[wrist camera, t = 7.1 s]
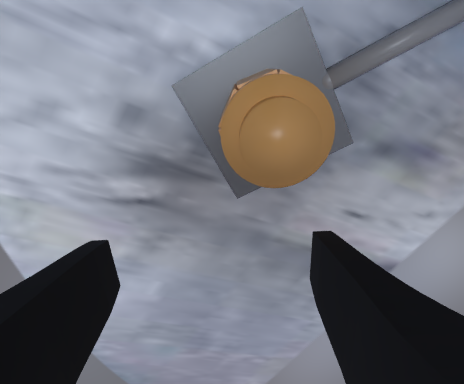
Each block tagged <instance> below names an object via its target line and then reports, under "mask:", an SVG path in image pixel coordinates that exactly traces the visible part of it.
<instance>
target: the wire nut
mask: <svg viewBox="0 0 464 384" xmlns="http://www.w3.org/2000/svg"><path fill="white" fill-rule="evenodd" d="M218 127H219V130H218V131H219V134H220V136H221V145H222V149H223V152H224V155H225V157H226V159H227V161H228V163H229V164H230V166H231V167H232V169H233V170H234V171H235V172H236V173H237V174H238V175H239V176H240V177H242V178H243V179H245V180H246V181H248V182H250V183H252V184H255V185H258V186H261V187H266V188H282V187H288V186H291V185H294V184H297V183H299V182H301V181H303V180H305V179H307V178H308V177H309V176H311V175H312V174H313V173H314V172H316V171H317V170H318V169H319V167H320V166H321V165H322V164H323V163H324V161H325V160H326V158H327V156H328V154H329V152H330V150H331V147H332V145H333V141H334V136H335V120H334V114H333V111H332V108H331V106H330V104H329V102H328V100H327V98H326V97H325V95H324V94H323V93H322V92H321V91H320V90H319V89H318V87H316V86H315V85H313V84H312V83H310V82H309V81H307V80H305V79H303V78H300V77H297V76H293V75H291V74H289V73H287V72H285V71H283V70H281V69H265V70H263V71H261V72H258V73H256V74H253V75H251V76H249V77H246V78H244V79H241V80H239V81H237V85H236V84H234V86H233V89H232V91H231V94H230V96H229V98H228V101H227V103H226V106H225V108H224V110H223V113H222V116H221V119H220V123H219V126H218Z"/></svg>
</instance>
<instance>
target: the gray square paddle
mask: <svg viewBox="0 0 464 384" xmlns="http://www.w3.org/2000/svg"><path fill="white" fill-rule="evenodd" d="M463 21H464V0H453V1H451V2H449V3H447V4H445V5H443V6H442V7H440V8H438V9H436V10H434V11H432V12H431V13H429V14H427V15H425V16H423V17H421V18H420V19H418V20H416V21H414V22H412V23H410V24H409V25H407V26H405V27H403V28H401V29H399V30H398V31H396V32H394V33H392V34H390V35H388V36H387V37H385V38H383V39H381V40H379V41H377V42H375V43H374V44H372V45H370V46H368V47H366V48H364V49H363V50H361V51H359V52H357V53H355V54H353V55H352V56H350V57H348V58H346V59H344V60H342V61H341V62H339V63H337V64H335V65H333V66H331V67H330V68H328V69H326V68H325V65H324V63H323V60H322V57H321V55H320V52H319V49H318V47H317V44H316V41H315V39H314V36H313V33H312V31H311V28H310V25H309V23H308V20H307V17H306V15H305V12H304V9H303V7H301V8H300V9H298V10H296V11H295V12H293V13H291V14H290V15H288V16H286V17H285V18H283V19H281V20H280V21H278V22H276V23H275V24H273V25H271V26H270V27H268V28H266V29H265V30H263V31H261V32H260V33H258V34H257V35H255V36H253V37H252V38H250V39H248V40H247V41H245V42H243V43H242V44H240V45H238V46H237V47H235V48H233V49H232V50H230V51H228V52H227V53H225V54H223V55H222V56H220V57H218V58H217V59H215V60H213V61H212V62H210V63H208V64H207V65H205V66H203V67H202V68H200V69H198V70H197V71H195V72H193V73H192V74H190V75H188V76H187V77H185V78H183V79H182V80H180V81H178V82H177V83H175V84H173V85H172V88H173V89H174V91H175V93H176V95H177V96H178V98H179V100H180V101H181V103H182V105H183V107H184V108H185V110H186V112H187V113H188V115H189V117H190V119H191V120H192V122H193V124H194V125H195V127H196V129H197V131H198V132H199V134H200V136H201V137H202V139H203V141H204V143H205V144H206V146H207V148H208V149H209V151H210V153H211V155H212V156H213V158H214V160H215V161H216V163H217V165H218V167H219V168H220V170H221V172H222V173H223V175H224V177H225V179H226V180H227V182H228V184H229V185H230V187H231V189H232V191H233V192H234V194H235V196H236V197H237V199H238V198H240V197H242V196H244V195H246V194H248V193H250V192H252V191H254V190H256V189H259V188H261V186H258V185H255V184H252V183H250V182H248V181H246V180H245V179H243V178H242V177H240V176H239V175H238V174H237V173H236V172H235V171H234V170H233V169H232V167H231V166H230V164H229V163H228V161H227V159H226V157H225V155H224V152H223V149H222V145H221V136H220V134H219V131H218V130H219V127H218V126H219V123H220V119H221V116H222V113H223V110H224V108H225V106H226V103H227V101H228V98H229V96H230V94H231V91H232V89H233V86H234V84H236V85H237V81H239V80H241V79H244V78H246V77H249V76H251V75H253V74H256V73H258V72H261V71H263V70H265V69H281V70H283V71H285V72H287V73H289V74H291V75H293V76H297V77H300V78H303V79H305V80H307V81H309V82H310V83H312V84H313V85H315V86H316V87H318V89H319V90H320V91H321V92H322V93H323V94H324V95H325V97H326V98H327V100H328V102H329V104H330V106H331V108H332V111H333V114H334V120H335V136H334V141H333V145H332V147H331V150H330V152H329V154H331V153H334V152H336V151H338V150H340V149H342V148H344V147H346V146H348V145H350V144H352V143H353V140H352V137H351V135H350V132H349V129H348V127H347V124H346V121H345V119H344V116H343V113H342V111H341V108H340V105H339V103H338V100H337V97H336V95H335V92H334V89H336V88H338V87H339V86H341V85H343V84H345V83H347V82H349V81H351V80H353V79H355V78H357V77H358V76H360V75H362V74H364V73H366V72H368V71H370V70H372V69H374V68H376V67H377V66H379V65H381V64H383V63H385V62H387V61H389V60H391V59H393V58H395V57H396V56H398V55H400V54H402V53H404V52H406V51H408V50H410V49H412V48H414V47H415V46H417V45H419V44H421V43H423V42H425V41H427V40H429V39H431V38H433V37H434V36H436V35H438V34H440V33H442V32H444V31H446V30H448V29H450V28H452V27H453V26H455V25H457V24H459V23H461V22H463ZM329 154H328V155H329Z"/></svg>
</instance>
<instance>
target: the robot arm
mask: <svg viewBox="0 0 464 384" xmlns="http://www.w3.org/2000/svg"><path fill="white" fill-rule="evenodd" d="M310 282H311V286H312V290H313V294H314V298H315V302H316V306H317V308H318V311H319V314H320V316H321V319H322V322H323V324H324V327H325V330H326V332H327V335H328V337H329V340H330V342H331V345H332V348H333V350H334V353H335V355H336V358H337V360H338V363H339V366H340V368H341V371H342V373H343V376H344V379H345V383H346V384H464V316H463V315H461V314H459V313H457V312H455V311H453V310H451V309H449V308H447V307H446V306H444V305H442V304H440V303H438V302H437V301H435V300H433V299H431V298H429V297H427V296H426V295H424V294H422V293H420V292H419V291H417V290H415V289H414V288H412V287H410V286H408V285H407V284H405V283H404V282H402V281H401V280H399V279H397V278H396V277H395V276H393V275H391V274H390V273H388V272H387V271H385V270H384V269H383V268H381V267H380V266H378V265H377V264H375V263H374V262H372V261H371V260H370V259H368V258H367V257H366V256H364V255H363V254H361V253H360V252H359V251H357V250H356V249H355V248H353V247H352V246H351V245H349V244H348V243H347V242H345V241H344V240H343V239H342V238H340V237H339V236H338V235H336V234H335V233H333V232H332V231H314V232H313V238H312V253H311V268H310ZM119 288H120V282H119V278H118V275H117V271H116V267H115V264H114V260H113V256H112V253H111V249H110V245H109V242H108V240H98V241H90V242H88V243H86V244H84V245H82V246H80V247H78V248H77V249H75V250H73V251H72V252H70V253H68V254H67V255H65V256H63V257H62V258H60V259H59V260H57V261H55V262H54V263H52V264H50V265H49V266H47V267H46V268H44V269H42V270H41V271H39V272H37V273H36V274H34V275H32V276H31V277H29V278H27V279H26V280H24V281H22V282H20V283H19V284H17V285H15V286H14V287H12V288H10V289H8V290H7V291H5V292H3V293H1V294H0V384H76V382H77V380H78V378H79V376H80V374H81V372H82V370H83V368H84V366H85V364H86V362H87V360H88V357H89V356H90V354H91V352H92V350H93V348H94V346H95V344H96V342H97V340H98V338H99V336H100V334H101V332H102V330H103V328H104V326H105V324H106V322H107V320H108V318H109V316H110V314H111V312H112V309H113V306H114V303H115V301H116V298H117V295H118V291H119Z"/></svg>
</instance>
